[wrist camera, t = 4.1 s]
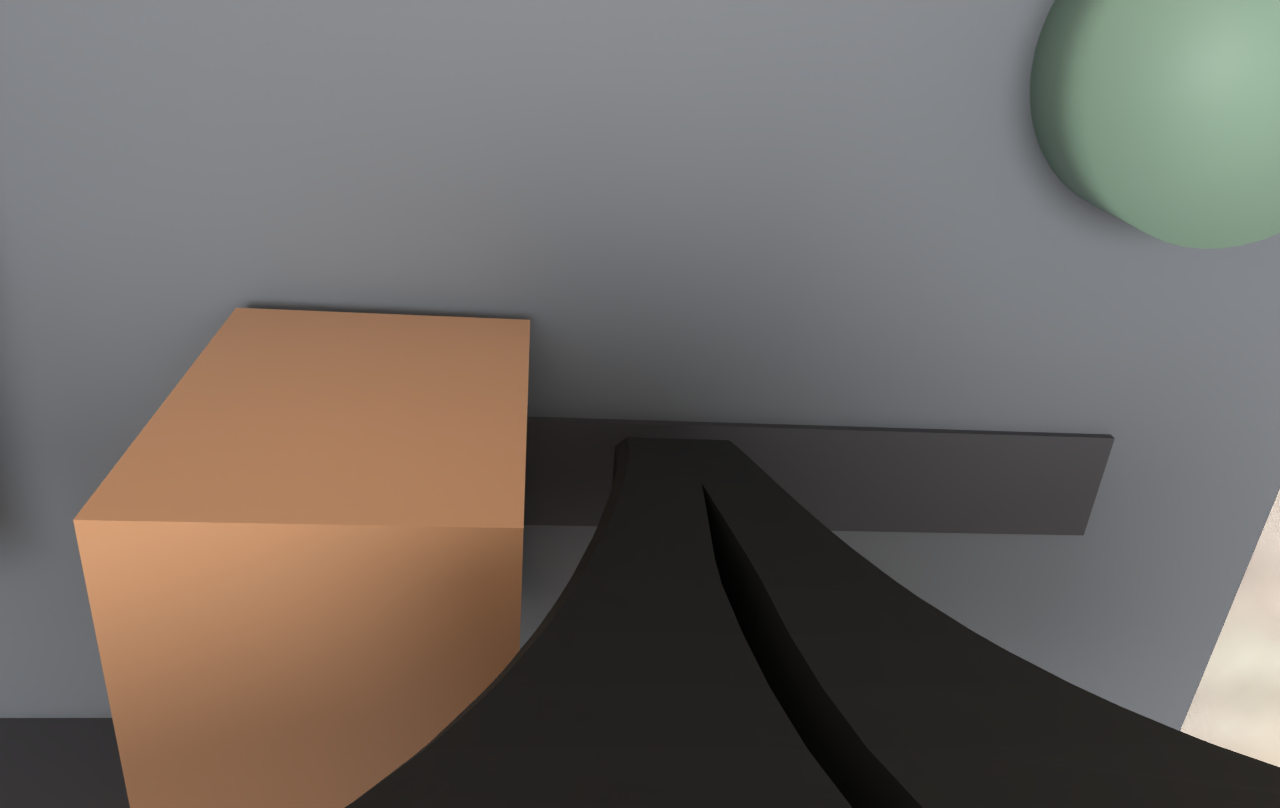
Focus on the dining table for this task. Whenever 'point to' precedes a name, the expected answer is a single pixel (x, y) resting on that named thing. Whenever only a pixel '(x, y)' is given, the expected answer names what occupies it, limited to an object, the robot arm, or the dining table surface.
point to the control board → (682, 283)
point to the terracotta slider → (310, 555)
